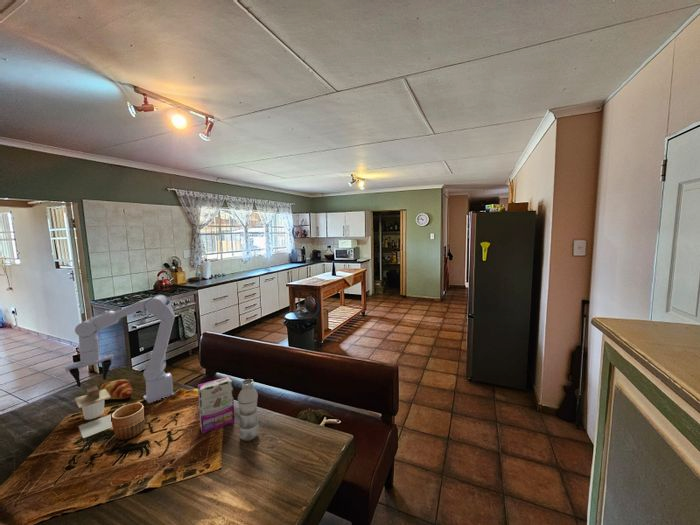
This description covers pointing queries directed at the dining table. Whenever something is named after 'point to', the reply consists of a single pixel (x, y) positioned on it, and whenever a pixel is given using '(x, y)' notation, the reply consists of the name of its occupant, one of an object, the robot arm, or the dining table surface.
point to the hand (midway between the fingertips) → (91, 382)
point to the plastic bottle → (248, 411)
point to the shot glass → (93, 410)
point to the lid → (92, 396)
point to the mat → (95, 426)
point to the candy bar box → (216, 404)
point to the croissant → (118, 389)
